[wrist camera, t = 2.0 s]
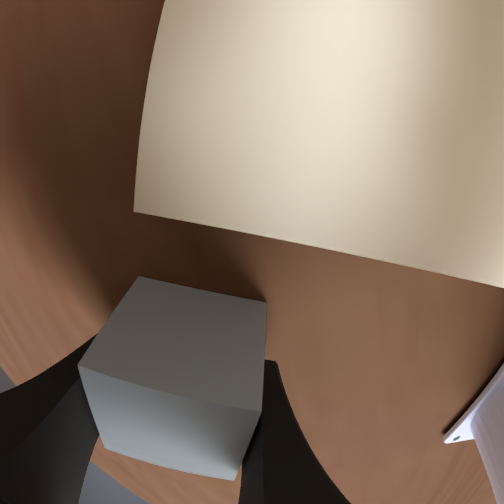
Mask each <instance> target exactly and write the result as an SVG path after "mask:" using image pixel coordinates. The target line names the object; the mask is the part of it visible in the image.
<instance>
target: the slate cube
mask: <svg viewBox="0 0 504 504" xmlns="http://www.w3.org/2000/svg"><path fill="white" fill-rule="evenodd" d="M266 318H267V302H262V301H257V300H251V299H246V298H241V297H236V296H231V295H226V294H221V293H216V292H211V291H206V290H201V289H196V288H191V287H187V286H182V285H177V284H173V283H168V282H164V281H159V280H155V279H150V278H146V277H141V276H138V278H137V279H136V280H135V282H134V283H133V285H132V286H131V287H130V289H129V290H128V291H127V293H126V294H125V296H124V297H123V298H122V300H121V301H120V303H119V304H118V305H117V307H116V308H115V310H114V311H113V313H112V314H111V315H110V317H109V318H108V320H107V321H106V323H105V324H104V326H103V327H102V328H101V330H100V331H99V333H98V334H97V336H96V337H95V339H94V340H93V342H92V343H91V345H90V346H89V348H88V349H87V351H86V352H85V354H84V355H83V357H82V359H81V360H80V362H79V363H78V369H79V373H80V376H81V380H82V383H83V387H84V390H85V393H86V396H87V400H88V403H89V406H90V409H91V412H92V415H93V417H94V420H95V423H96V426H97V429H98V431H99V434H100V437H101V439H102V442H103V444H104V447H105V449H108V450H111V451H114V452H117V453H120V454H123V455H126V456H129V457H132V458H135V459H138V460H142V461H145V462H149V463H152V464H156V465H160V466H163V467H167V468H171V469H176V470H180V471H184V472H189V473H193V474H198V475H204V476H209V477H214V478H220V479H227V480H233V481H234V479H235V477H236V475H237V472H238V470H239V467H240V465H241V463H242V460H243V458H244V455H245V453H246V450H247V448H248V445H249V443H250V440H251V438H252V435H253V432H254V430H255V427H256V425H257V422H258V420H259V417H260V414H261V412H262V396H263V378H264V359H265V339H266Z"/></svg>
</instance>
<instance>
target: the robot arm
mask: <svg viewBox="0 0 504 504" xmlns="http://www.w3.org/2000/svg"><path fill="white" fill-rule="evenodd" d="M97 334H98V333H97ZM97 334H96V335H95V336H93V337H92V338H91V339H90V340H88V341H87V342H86V343H84V344H83V345H82V346H80V347H79V348H78V349H76V350H75V351H73V352H72V353H71V354H69V355H68V356H67V357H65V358H64V359H62V360H61V361H59V362H58V363H56V364H55V365H53V366H52V367H50V368H49V369H47V370H46V371H44V372H42V373H41V374H39V375H37V376H36V377H34V378H32V379H30V380H28V381H26V382H25V383H23V384H21V385H19V386H16V387H14V388H12V389H10V390H7V391H5V392H2V393H0V504H78V501H79V497H80V493H81V488H82V485H83V481H84V477H85V474H86V470H87V467H88V463H89V461H90V457H91V454H92V451H93V448H94V446H95V443H96V441H97V439H98V437H99V435H100V434H99V431H98V429H97V426H96V423H95V420H94V417H93V415H92V412H91V409H90V406H89V403H88V400H87V396H86V393H85V390H84V387H83V383H82V380H81V376H80V373H79V369H78V363H79V362H80V360H81V359H82V357H83V355H84V354H85V352H86V351H87V349H88V348H89V346H90V345H91V343H92V342H93V340H94V339H95V337H96V336H97ZM470 439H474V440H475V442H476V445H477V447H478V450H479V452H480V455H481V458H482V460H483V463H484V466H485V468H486V471H487V474H488V477H489V480H490V483H491V486H492V489H493V492H494V495H495V498H496V502H497V504H504V363H503V365H502V366H501V368H500V369H499V370H498V372H497V373H496V374H495V376H494V377H493V379H492V380H491V381H490V383H489V384H488V385H487V386H486V388H485V389H484V390H483V392H482V393H481V394H480V395H479V397H478V398H477V399H476V400H475V401H474V403H473V404H472V405H471V406H470V407H469V409H468V410H467V411H466V412H465V413H464V414H463V416H462V417H461V418H460V419H459V420H458V421H457V422H456V423H455V424H454V425H453V427H452V428H451V429H450V430H449V431H448V432H447V433H446V434H445V435H444V436H443V441H444V443H452V442H458V441H464V440H470ZM238 504H351V503H350V502H349V501H348V500H347V499H346V498H345V497H344V495H343V494H342V493H341V492H340V490H339V489H338V488H337V486H336V485H335V484H334V483H333V481H332V480H331V479H330V478H329V476H328V475H327V473H326V472H325V470H324V469H323V467H322V466H321V464H320V463H319V461H318V460H317V458H316V456H315V455H314V453H313V451H312V450H311V448H310V446H309V444H308V442H307V441H306V439H305V437H304V435H303V433H302V431H301V429H300V427H299V424H298V422H297V420H296V418H295V415H294V413H293V410H292V408H291V406H290V403H289V400H288V398H287V395H286V392H285V389H284V386H283V383H282V380H281V376H280V373H279V369H278V364H277V363H276V362H275V361H271V360H264V378H263V396H262V412H261V414H260V417H259V420H258V422H257V425H256V427H255V430H254V432H253V435H252V438H251V440H250V443H249V445H248V448H247V450H246V453H245V455H244V458H243V460H242V478H241V489H240V496H239V503H238Z"/></svg>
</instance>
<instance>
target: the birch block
mask: <svg viewBox="0 0 504 504" xmlns="http://www.w3.org/2000/svg"><path fill="white" fill-rule="evenodd" d="M134 212H138V213H143V214H149V215H154V216H160V217H165V218H171V219H176V220H181V221H187V222H192V223H198V224H203V225H208V226H213V227H219V228H224V229H229V230H234V231H239V232H244V233H250V234H255V235H260V236H265V237H270V238H275V239H280V240H285V241H290V242H295V243H300V244H305V245H310V246H315V247H319V248H324V249H329V250H334V251H339V252H344V253H348V254H353V255H358V256H363V257H367V258H372V259H377V260H381V261H386V262H391V263H395V264H400V265H404V266H409V267H414V268H418V269H423V270H427V271H432V272H436V273H441V274H445V275H449V276H454V277H458V278H463V279H467V280H471V281H476V282H480V283H484V284H489V285H493V286H497V287H501V288H504V0H165V3H164V6H163V10H162V14H161V18H160V23H159V27H158V31H157V36H156V40H155V45H154V50H153V55H152V60H151V65H150V71H149V76H148V82H147V88H146V94H145V101H144V108H143V115H142V122H141V130H140V139H139V148H138V158H137V169H136V182H135V197H134Z"/></svg>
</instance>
